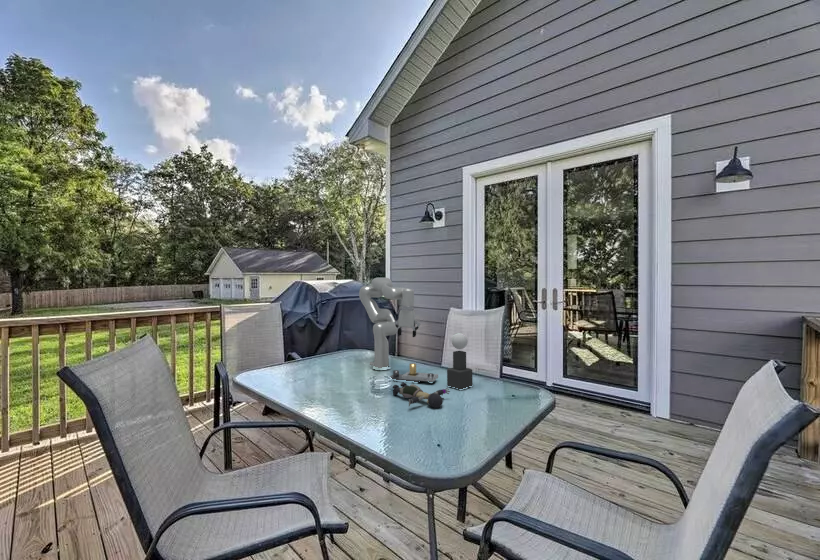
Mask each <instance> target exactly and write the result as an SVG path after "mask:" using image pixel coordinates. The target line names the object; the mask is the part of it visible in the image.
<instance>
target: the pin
mask: <svg viewBox="0 0 820 560" xmlns="http://www.w3.org/2000/svg"><path fill="white" fill-rule="evenodd" d="M408 367H409V372H410V375H414V376H416V372H417V363H415V362H414V363H409V366H408Z"/></svg>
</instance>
